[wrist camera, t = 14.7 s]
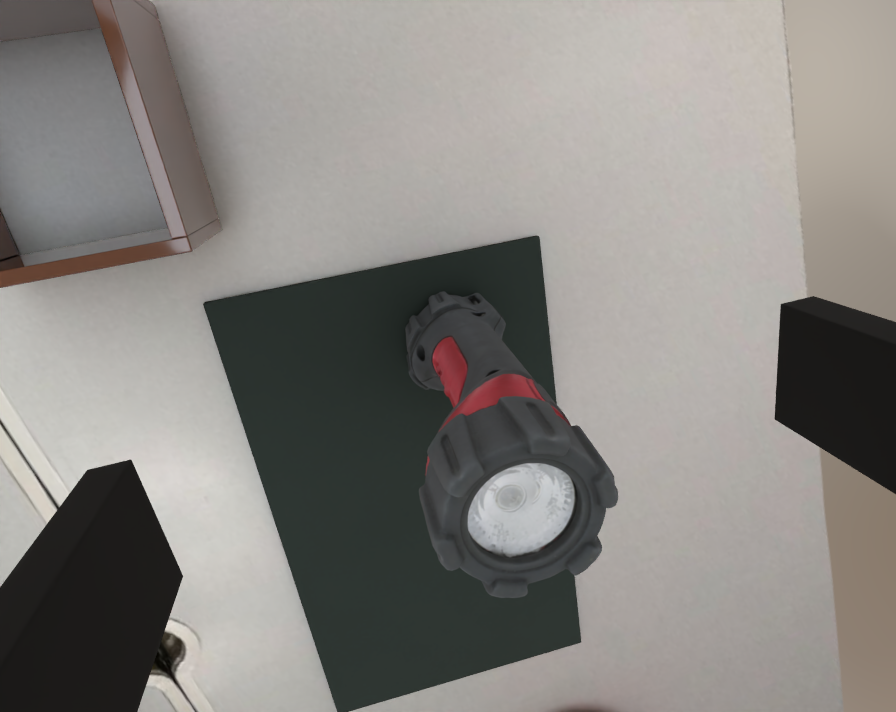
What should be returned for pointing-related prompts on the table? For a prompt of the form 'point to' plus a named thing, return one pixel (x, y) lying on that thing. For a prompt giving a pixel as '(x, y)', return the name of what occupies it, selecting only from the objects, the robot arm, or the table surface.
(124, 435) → the table surface
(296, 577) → the mat
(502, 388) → the flashlight
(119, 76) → the brown open box
